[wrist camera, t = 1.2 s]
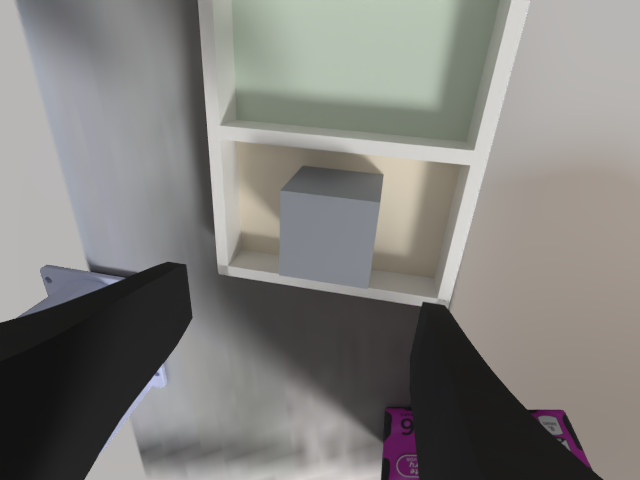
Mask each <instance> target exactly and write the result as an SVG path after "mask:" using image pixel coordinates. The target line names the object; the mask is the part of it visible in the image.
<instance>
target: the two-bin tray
mask: <svg viewBox="0 0 640 480" xmlns="http://www.w3.org/2000/svg"><path fill="white" fill-rule="evenodd" d="M530 1H531V0H198V10H199V24H200V37H201V50H202V64H203V77H204V91H205V104H206V118H207V131H208V144H209V158H210V171H211V185H212V198H213V211H214V225H215V238H216V252H217V265H218V274H221V275H227V276H233V277H240V278H246V279H252V280H259V281H265V282H271V283H277V284H284V285H290V286H296V287H303V288H309V289H315V290H321V291H328V292H334V293H340V294H347V295H353V296H359V297H365V298H372V299H378V300H384V301H391V302H397V303H403V304H409V305H416V306H422V302H429V303H435V304H441V305H445V306H446V307H447V309H448V307H449V303H450V299H451V295H452V292H453V288H454V284H455V281H456V277H457V273H458V269H459V266H460V262H461V258H462V254H463V251H464V247H465V243H466V239H467V236H468V232H469V228H470V224H471V221H472V217H473V213H474V210H475V206H476V202H477V198H478V195H479V191H480V187H481V183H482V180H483V176H484V172H485V169H486V165H487V161H488V157H489V154H490V150H491V146H492V142H493V138H494V135H495V131H496V127H497V123H498V120H499V116H500V113H501V109H502V105H503V101H504V98H505V94H506V90H507V86H508V83H509V79H510V75H511V72H512V68H513V64H514V60H515V57H516V53H517V49H518V45H519V42H520V38H521V34H522V30H523V26H524V23H525V19H526V15H527V12H528V8H529V4H530ZM302 166H311V167H320V168H329V169H338V170H347V171H356V172H365V173H374V174H383V175H384V176H383V185H382V193H381V201H380V209H379V216H378V223H377V230H376V237H375V243H374V250H373V257H372V264H371V271H370V278H369V285H368V289H364V288H357V287H351V286H345V285H338V284H332V283H325V282H319V281H313V280H306V279H300V278H293V277H287V276H280V275H279V241H280V190H281V189H282V188H283V187H284V186H285V185H286V183H287V182H288V181H289V180H290V179H291V178H292V177H293V176H294V175H295V174H296V173H297V171H298V170H299V169H300V168H301V167H302Z"/></svg>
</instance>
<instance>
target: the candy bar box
mask: <svg viewBox="0 0 640 480" xmlns="http://www.w3.org/2000/svg"><path fill="white" fill-rule="evenodd" d="M528 411H529V412H530V413H531V414H532V415H533V416H534V417H535V418H536V419H537V420H538V421H539V422H540V423H541V424H542V425H543V426H544V427H545V428H546V429H547V430H548V431H549V432H550V433H551V434H552V435H553V436H554V437H555V438H556V439H557V440H559V441H560V442H561V443H562V444H563V445H564V446H565V447H566V448H567V449H569V450H570V451H571V452H572V453H573V454H574V455H575V456H576V457H577V458H579V459H580V460H581V461H582V462H583V463H584V464H585V465H586V466H588V467H589V468H590V469H591V470H592V468H591V466H590V464H589V462H588V460H587V458H586V456H585V453H584V451H583V449H582V446H581V444H580V442H579V440H578V438H577V436H576V434H575V432H574V429H573V427H572V425H571V423H570V421H569V419H568V417H567V415H566V413H565V412H564V411H563V410H528ZM592 471H593V470H592ZM381 480H419V474H418V463H417V453H416V444H415V435H414V425H413V416H412V409H411V408H386V409H385V418H384V437H383V453H382V472H381Z"/></svg>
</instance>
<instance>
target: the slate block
mask: <svg viewBox="0 0 640 480" xmlns="http://www.w3.org/2000/svg"><path fill="white" fill-rule="evenodd" d="M383 176H384V175H383V174H374V173H365V172H356V171H347V170H338V169H329V168H320V167H311V166H302V167H301V168H300V169H299V170H298V171H297V173H296V174H295V175H294V176H293V177H292V178H291V179H290V180H289V181H288V182H287V183H286V185H285V186H284V187H283V188H282V189H281V190H280V241H279V275H280V276H287V277H293V278H300V279H306V280H313V281H319V282H325V283H332V284H338V285H345V286H351V287H357V288H364V289H368V285H369V278H370V271H371V264H372V257H373V250H374V243H375V237H376V230H377V223H378V216H379V209H380V201H381V193H382V185H383Z"/></svg>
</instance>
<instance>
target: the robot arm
mask: <svg viewBox="0 0 640 480" xmlns="http://www.w3.org/2000/svg"><path fill="white" fill-rule="evenodd" d="M40 272H41V275H42V278H43V282H44V285H45V287H46V291H47V294H48V297H47V298H46V299H44V300H43V301H41V302H40V303H38V304H37V305H35V306H34V307H32V308H31V309H29V310H28V311H26V312H25V313H23V314H22V315H20V316H19V317H17V318H16V319H12V320H9V321H5V322H1V323H0V480H84V479H85V477H86V476H87V474H88V472H89V471H90V469H91V467H92V466H93V464H94V462H95V461H96V459H97V457H98V456H99V455H100V454H101V453H102V452H103V450H104V449H105V448H106V446H107V445H108V444H109V442H110V441H111V440H112V438H113V437H114V436H115V434H116V433H117V432H118V431H119V429H120V428H121V427H122V425H123V424H124V423H125V421H126V420H127V419H128V417H129V416H130V415H131V413H132V412H133V411H134V409H135V408H136V407H137V405H138V404H139V403H140V401H141V400H142V399H143V398H144V396H145V395H146V394H147V392H148V391H149V390H150V388H151V387H152V386H153V387H158V388H163V387H164V386H165V385H166V383H167V379H166V373H165V368H164V362H165V360H166V359H167V358H168V357H169V355H170V354H171V353H172V351H173V350H174V348H175V347H176V346H177V344H178V343H179V341H180V339H181V337H182V336H183V334H184V332H185V331H186V329H187V327H188V325H189V323H190V321H191V319H192V318H193V317H192V309H191V301H190V293H189V284H188V276H187V268H186V265H185V264H179V263H172V262H166V263H163V264H160V265H157V266H154V267H152V268H149V269H147V270H144V271H142V272H139V273H137V274H134V275H132V276H130V277H127V278H124V277H118V276H112V275H106V274H100V273H94V272H88V271H81V270H75V269H69V268H64V267H58V266H52V265H46V266H44V267H42V268H41V270H40ZM410 396H411V406H412V416H413V425H414V435H415V444H416V453H417V463H418V474H419V480H603V479H602V478H601V477H599V476H598V475H597V474H596V473H595V472H594V471H592V470H591V469H590V468H589V467H588V466H586V465H585V464H584V463H583V462H582V461H581V460H580V459H579V458H577V457H576V456H575V455H574V454H573V453H572V452H571V451H570V450H569V449H567V448H566V447H565V446H564V445H563V444H562V443H561V442H560V441H559V440H557V439H556V438H555V437H554V436H553V435H552V434H551V433H550V432H549V431H548V430H547V429H546V428H545V427H544V426H543V425H542V424H541V423H540V422H539V421H538V420H537V419H536V418H535V417H534V416H533V415H532V414H531V413H530V412H529V411H528V410H527V409H526V408H525V407H524V406H523V405H522V404H521V403H520V402H519V401H518V400H517V399H516V398H515V396H514V395H513V394H512V393H511V392H510V391H509V390H508V389H507V388H506V386H505V385H504V384H503V383H502V382H501V380H500V379H499V378H498V377H497V376H496V375H495V374H494V372H493V371H492V370H491V369H490V367H489V366H488V365H487V363H486V362H485V361H484V360H483V358H482V357H481V355H480V354H479V353H478V351H477V350H476V349H475V347H474V346H473V345H472V343H471V342H470V341H469V339H468V338H467V336H466V335H465V333H464V332H463V331H462V329H461V328H460V327H459V325H458V323H457V322H456V320H455V319H454V317H453V316H452V314H451V313H450V311H449V310H448V309H447V307H446V306H445V305H441V304H435V303H429V302H422V307H421V311H420V316H419V320H418V324H417V329H416V333H415V338H414V342H413V347H412V351H411V356H410Z"/></svg>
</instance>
